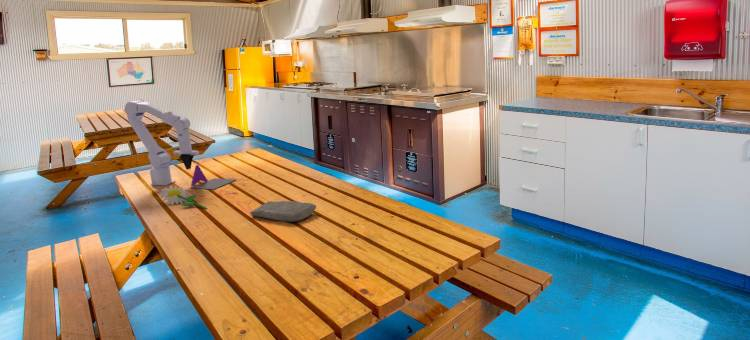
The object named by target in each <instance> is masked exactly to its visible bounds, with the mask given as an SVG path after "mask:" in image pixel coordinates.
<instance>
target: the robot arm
mask: <svg viewBox="0 0 750 340" xmlns="http://www.w3.org/2000/svg"><path fill="white" fill-rule="evenodd" d="M123 110H124V112H125V114H126V116H127V120H128V123H129V125H130V126H131V128H132V129H133V131H134V132H135V134H136V135H137V136H138V138H139V140H140V141H141V143H142V144H143V146H144V147H145V149H146V150H147V151H148V156H147V157H148V159H149V163H150V166H152V167H151V168H150V170H149V171H150V172H149V174H150V181H151V183H150V185H151V186H167V185H171V184H173V183H175V182H176V180H172V173H171V169H170V167H171V166H170V162H171V160H172V157H171V154H170V153H169V152H167V151H166V150H165V149H164V148H162V147H161V146H159V145H158V143H157V142H156V140H155V139H154V137H153V136H152V134H151V133H150V131H149V129H148V128H147V127H146V125H145V124H144V122H143V121H142V120H143V116H144V114H145V113H148V114H151V115H152V116H154V117H155V116H156V117H157V118H160V119H161V121H162V122H163V123H165V124H167V125H170V126H171V127H173V128H174V129H175V131H176V134H177V141H178V147H179V150H176V149H175V150H173V155H174V156H176V155H178V156H179V155H180V156H179V159H180V160H181V161H182V163H183V164H184V168H185V169H186V170H191V168H192V162H193V159H194V157H195V156H199V155H200V151H199V150H193V148H192V141H191V135H190V129H189V128H190V127H191V121H190V120H189V118H187V117H186V116H185V117H181V115H177V114H174V113H173V111H171V110H169V111H168V110H167V111H163V110H161V109H160V108H157V107H155V106H154V105H152V104H151V103H149V102H148V101H145V100H144V99H138V100H134V101H128V102H126V104H125V106H124V109H123Z"/></svg>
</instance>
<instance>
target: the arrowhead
mask: <svg viewBox="0 0 750 340" xmlns="http://www.w3.org/2000/svg"><path fill="white" fill-rule="evenodd" d="M192 175H193V176H192V180H191V183H190V186H191V187H194V186H196V185H197V184H198V183H199V182H200V181H203V182H206V181H209V180H208V179H207V177H206V175H205V174H204V172H203V171H202V169H201V167H200V166H199V164H196V165H195V167H194V172H193V174H192Z"/></svg>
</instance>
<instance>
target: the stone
mask: <svg viewBox="0 0 750 340" xmlns="http://www.w3.org/2000/svg"><path fill="white" fill-rule="evenodd" d="M316 209H317V205H316V204H315V203H311V202H301V201H291V200H280V201H270V200H269V201H266V203H263V204H262V205H260V206H259V207H257V208H255V209H254V210H252V211H250V212H249V214H250V216H252V217H256V218H257V217H258V218H264V219H267V220H275V221H281V222H289V223H296V222H300V221H302V220H304V219H306V218H308V217H309V216H311V215H313V213H314V212H315V210H316Z"/></svg>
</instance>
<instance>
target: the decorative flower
mask: <svg viewBox="0 0 750 340" xmlns="http://www.w3.org/2000/svg"><path fill="white" fill-rule="evenodd" d="M160 190H161V192H159V193H158V194H159V195H160V196H159V198H160V199H162V202H165V201H166V205H170V204H171V206H173V205H175V204H177V205H179V203H180V205H181V206H184V207H187V206H188V207H189V206H193V205H195V206H198V207H200V208H202V209H204V210H208V207H206V206H204V205H201V204H200V203H197V202H196V201H194V199H196V197H197V196H196V195H195V194H192V195H189V193H190V192H189V191H188V190H187V189H183V187H182V186H180V187H178V186H177V185H174V187H173V186H172V185H169V187H164V188H163V189H160Z"/></svg>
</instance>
